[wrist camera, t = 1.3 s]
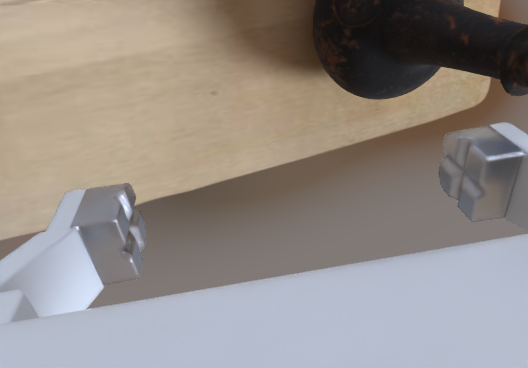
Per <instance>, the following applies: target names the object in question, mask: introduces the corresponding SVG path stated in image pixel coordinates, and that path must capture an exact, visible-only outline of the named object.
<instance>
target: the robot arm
mask: <svg viewBox="0 0 528 368" xmlns="http://www.w3.org/2000/svg"><path fill="white" fill-rule="evenodd" d="M443 150H444V151H445V153H446V154H447V155H446V156H445V157H444V159H443V160H442V161H441V162H440V167H439V178H440V184H441V186H442V188H443V190H444V191H445V192H446V194H447V195H448V196H449V197H452V198H454V199H456V200H459V202H458V207H459V209H460V210H461V211H462V212H463V213H464V214H465V215H466V217H467V218H468V219H469V220H470V221H471V222H478V221H485V220H492V219H499V218H505V219H506V220H507V221H510V222H511V223H513V224H516V225H518V226H519V227H521V228H523V229H525V230H527V231H528V135H527V134H525V133H524V132H522V131H521V130H519V129H518V128H516V127H515V126H513V125H512V124H510V123H505V122H503V123H498V124H493V125H488V126H483V127H477V128H472V129H466V130H461V131H455V132H451V133H447V134H446V136H445V138H444V141H443ZM135 200H136V196H135V193H134V191H133V188H132V186H131V185H130V184H129V183H124V184H117V185H110V186H103V187H96V188H89V189H87V188H86V189H81V190H75V191H70V192H67V193H65V194H64V196H63V198H62V200H61V202H60V204H59V206H58V208H57V210H56V212H55V214H54V216H53V218H52V220H51V222H50V224H49V226H48V228H47V230H46V232H42V233H38V234H37V235H36V236H34V237H33V238H31V239H30V240H29V241H27V242H26V243H24V244H23V245H22V246H20V247H19V248H17V249H16V250H15V251H13V252H12V253H10V254H9V255H7V256H6V257H5V258H3V259H2V260H0V368H528V234H524V235H518V236H512V237H506V238H500V239H494V240H489V241H483V242H477V243H471V244H465V245H459V246H454V247H448V248H442V249H436V250H431V251H425V252H419V253H413V254H407V255H401V256H396V257H390V258H384V259H378V260H372V261H367V262H361V263H355V264H349V265H343V266H338V267H331V268H326V269H320V270H314V271H308V272H302V273H297V274H291V275H285V276H279V277H273V278H268V279H261V280H256V281H251V282H244V283H239V284H232V285H227V286H221V287H215V288H209V289H203V290H197V291H192V292H186V293H180V294H174V295H168V296H162V297H157V298H151V299H145V300H139V301H134V302H127V303H122V304H116V305H110V306H104V307H99V308H93V309H87V310H86V308H87V307H88V306H89V305H90V304H91V303H92V301H93V300H94V299H95V298H96V297H97V295H98V294H99V293H100V292H101V291H102V289H103V288H104V285H110V284H114V283H120V282H125V281H130V280H135V279H139V277H140V271H141V265H142V260H143V259H142V256H141V253H140V251H141V250H142V249H143V248H144V247H145V242H146V230H145V229H146V228H145V224H144V219H143V216H142V213H141V211H140V210H138V209H137V208H136V207H134V204H135Z"/></svg>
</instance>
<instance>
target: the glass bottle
mask: <svg viewBox="0 0 528 368" xmlns="http://www.w3.org/2000/svg"><path fill="white" fill-rule="evenodd" d="M313 35H314V42H315V47H316V50H317V54H318V56H319V59H320V61H321V63H322V65H323V67H324V69H325V70H326V72H327V73H328V74H329V76H330V77H331V78H332V79H333V80H334V81H335V82H336V83H337V84H338V85H339V86H341V87H342V88H343V89H345V90H346V91H348V92H350V93H352V94H354V95H357V96H360V97H363V98H368V99H389V98H394V97H398V96H401V95H404V94H406V93H409V92H411V91H413V90H415V89H416V88H418V87H419V86H421V85H422V84H424V83H425V82H426V81H428V80H429V79H430V78H431V77H432V76H433V75H434V74H435V73H436V72H437V71H438V70H439V69H440V67H446V68H452V69H457V70H462V71H467V72H471V73H475V74H480V75H484V76H489V77H493V78H496V79H500V80H501V84H502V85H503V88H504V89H505V91H506V92H507V93H509V94H511V95H512V96H513V95H514V96H522V95H526V94H528V25H526V24H521V23H517V22H513V21H509V20H505V19H501V18H497V17H493V16H491V15H487V14H484V13H481V12H478V11H475V10H472V9H470V8H467V7H465V6H464V0H316V3H315V7H314V15H313Z"/></svg>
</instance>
